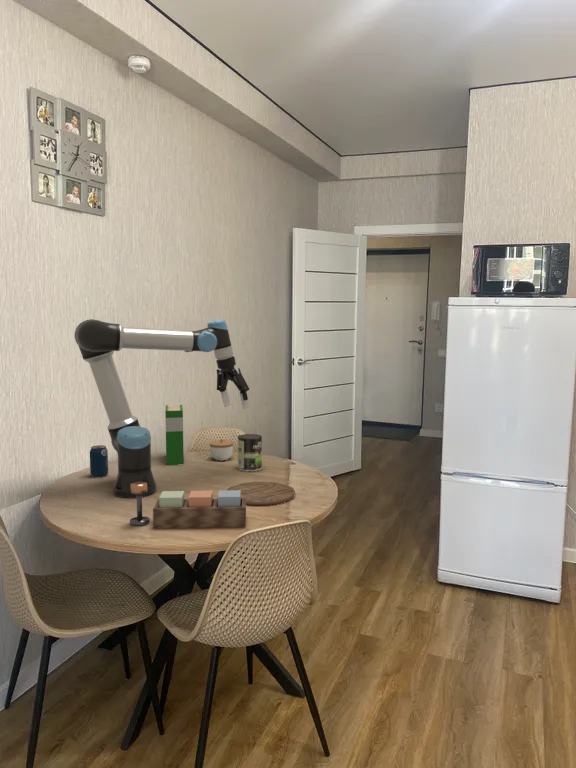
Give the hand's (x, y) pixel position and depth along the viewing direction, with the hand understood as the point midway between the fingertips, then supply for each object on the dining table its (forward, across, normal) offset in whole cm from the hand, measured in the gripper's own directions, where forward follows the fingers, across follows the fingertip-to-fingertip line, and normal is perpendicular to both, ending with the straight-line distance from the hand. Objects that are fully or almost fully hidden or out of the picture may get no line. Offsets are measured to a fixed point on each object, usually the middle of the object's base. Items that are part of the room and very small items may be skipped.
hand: (236, 407), depth 238 cm
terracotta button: (+14, -42, +48) cm, 65 cm away
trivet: (+26, -31, +19) cm, 45 cm away
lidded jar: (+27, +23, 0) cm, 36 cm away
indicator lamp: (+15, -30, +64) cm, 72 cm away
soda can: (+14, +31, +52) cm, 62 cm away
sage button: (+13, -36, +55) cm, 67 cm away
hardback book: (+22, +35, +16) cm, 45 cm away
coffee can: (+28, +2, 0) cm, 28 cm away
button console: (+19, -41, +50) cm, 67 cm away
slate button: (+16, -47, +41) cm, 65 cm away
